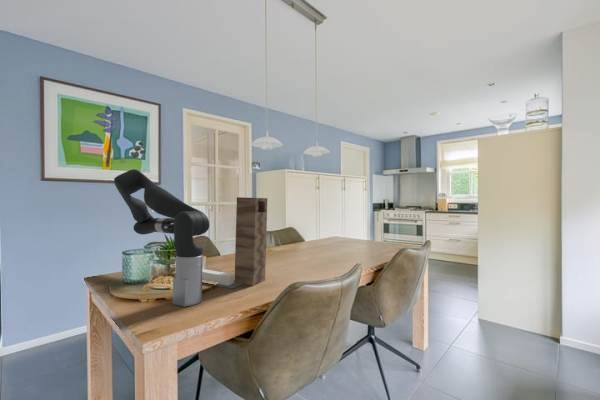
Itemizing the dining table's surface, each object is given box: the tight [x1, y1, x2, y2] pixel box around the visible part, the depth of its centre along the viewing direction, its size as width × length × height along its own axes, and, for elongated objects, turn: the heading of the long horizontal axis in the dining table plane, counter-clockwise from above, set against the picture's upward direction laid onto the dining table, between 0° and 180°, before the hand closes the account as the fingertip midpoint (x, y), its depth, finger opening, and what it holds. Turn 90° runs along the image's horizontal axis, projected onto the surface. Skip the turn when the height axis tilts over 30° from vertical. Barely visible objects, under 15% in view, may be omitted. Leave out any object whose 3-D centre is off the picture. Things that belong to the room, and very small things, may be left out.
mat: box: [214, 281, 243, 290], centre depth 126 cm, size 7×25×1 cm, turn 66°
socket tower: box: [234, 196, 268, 287], centre depth 128 cm, size 10×10×38 cm
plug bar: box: [202, 268, 235, 286], centre depth 126 cm, size 4×22×4 cm, turn 66°
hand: (192, 226), depth 131 cm, fingers open, 8 cm apart
